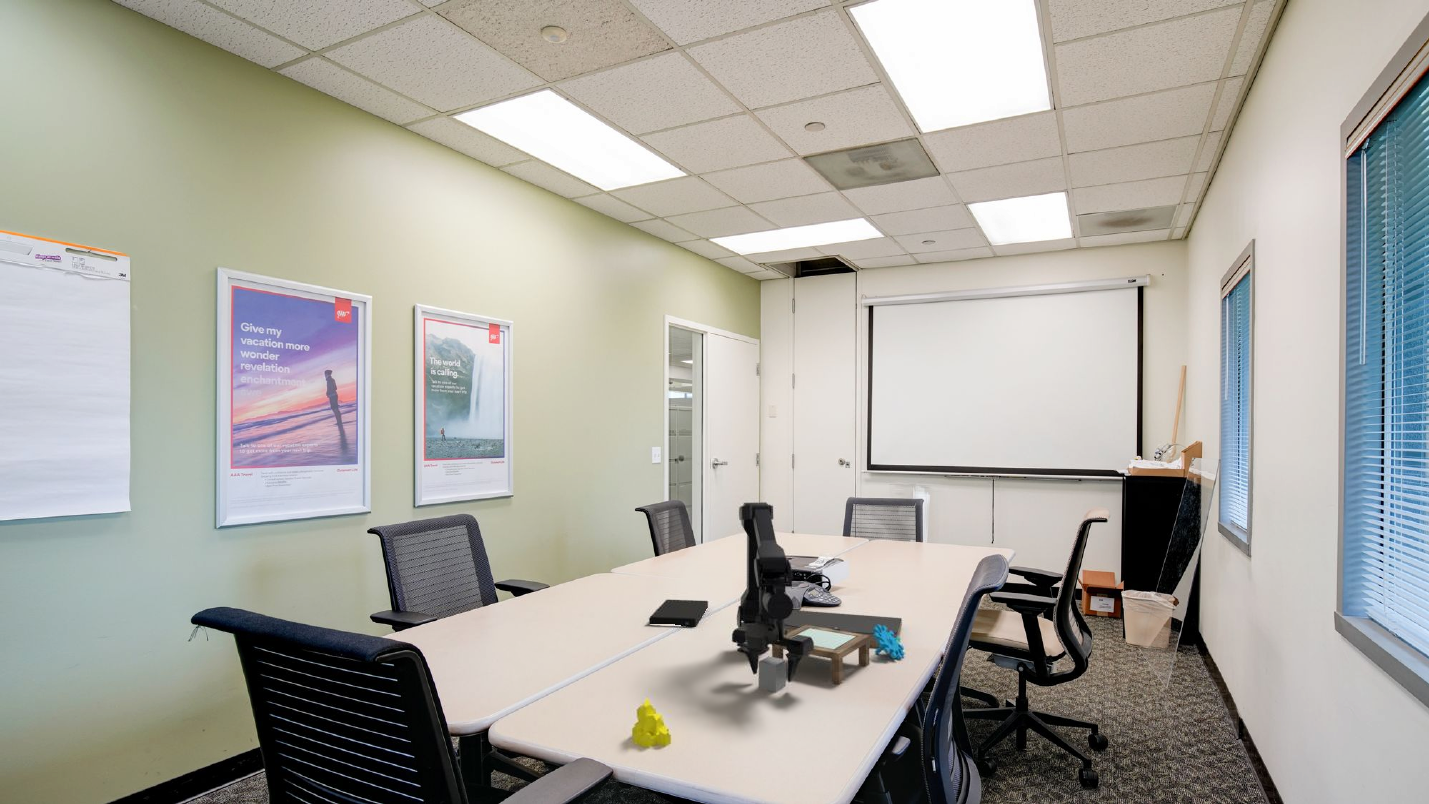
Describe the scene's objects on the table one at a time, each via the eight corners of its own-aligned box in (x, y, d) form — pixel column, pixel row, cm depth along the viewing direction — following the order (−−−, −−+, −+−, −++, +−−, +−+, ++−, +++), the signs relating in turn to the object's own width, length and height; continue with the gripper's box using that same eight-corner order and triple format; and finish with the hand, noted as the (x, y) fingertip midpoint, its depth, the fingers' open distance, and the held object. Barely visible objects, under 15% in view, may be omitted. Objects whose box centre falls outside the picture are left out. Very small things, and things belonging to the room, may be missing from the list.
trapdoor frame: (772, 669, 172) (772, 640, 172) (806, 651, 186) (805, 624, 187) (839, 684, 162) (838, 653, 162) (869, 663, 176) (869, 635, 176)
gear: (893, 658, 175) (870, 623, 181) (877, 671, 178) (855, 637, 184) (914, 654, 183) (891, 621, 189) (899, 667, 186) (877, 634, 191)
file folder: (776, 626, 198) (793, 607, 221) (776, 640, 198) (793, 620, 221) (896, 635, 188) (901, 615, 211) (896, 651, 188) (901, 629, 211)
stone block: (758, 688, 159) (758, 661, 160) (768, 682, 163) (768, 656, 163) (776, 692, 157) (775, 665, 157) (785, 686, 161) (785, 659, 161)
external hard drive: (708, 610, 233) (708, 600, 233) (695, 628, 210) (695, 618, 210) (666, 608, 235) (666, 599, 235) (649, 627, 212) (649, 617, 212)
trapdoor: (809, 632, 183) (809, 628, 183) (856, 640, 176) (856, 636, 176) (785, 644, 173) (785, 640, 173) (833, 653, 165) (833, 649, 165)
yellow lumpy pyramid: (658, 751, 128) (658, 708, 128) (624, 741, 132) (624, 699, 133) (677, 739, 133) (677, 698, 133) (644, 730, 137) (644, 689, 137)
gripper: (718, 610, 160) (718, 679, 159) (790, 622, 149) (791, 697, 148) (744, 600, 169) (744, 666, 168) (814, 611, 158) (815, 682, 157)
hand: (772, 677), depth 160 cm, fingers open, 9 cm apart
